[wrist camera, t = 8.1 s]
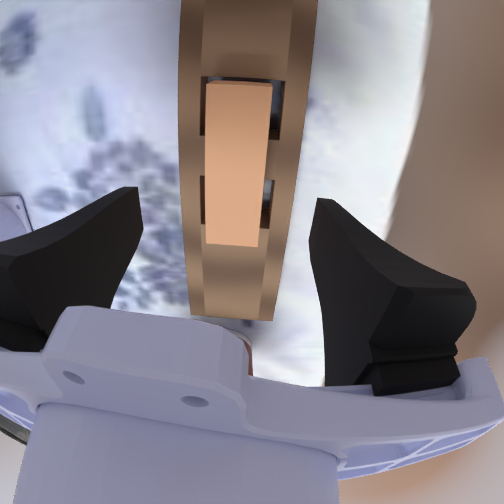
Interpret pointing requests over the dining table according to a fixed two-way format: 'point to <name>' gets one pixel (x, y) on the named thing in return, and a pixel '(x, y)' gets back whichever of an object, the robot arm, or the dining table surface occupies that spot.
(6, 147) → the dining table surface
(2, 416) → the bowl
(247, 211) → the clip
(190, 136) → the rail
